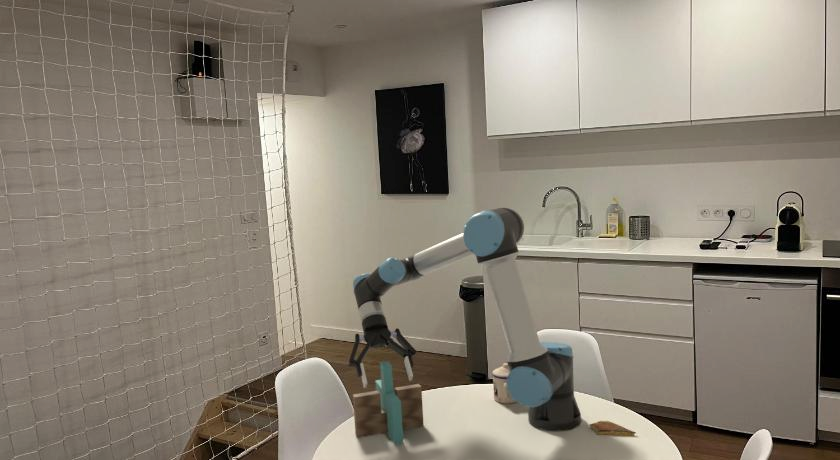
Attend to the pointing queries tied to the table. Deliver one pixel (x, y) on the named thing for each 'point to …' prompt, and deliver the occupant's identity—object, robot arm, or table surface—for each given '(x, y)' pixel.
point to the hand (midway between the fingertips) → (388, 382)
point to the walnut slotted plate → (375, 419)
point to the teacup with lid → (501, 385)
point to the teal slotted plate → (390, 403)
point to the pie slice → (610, 429)
